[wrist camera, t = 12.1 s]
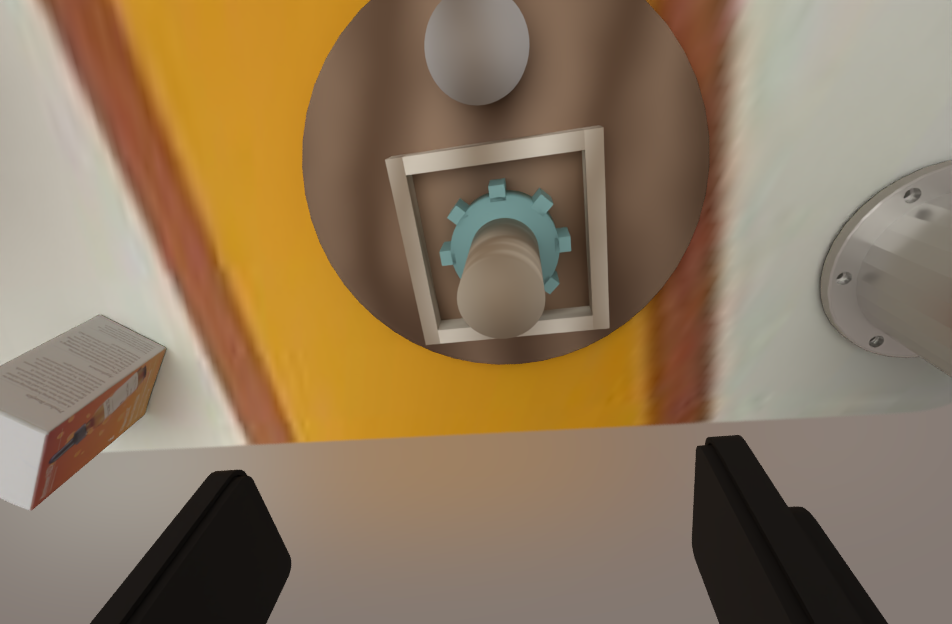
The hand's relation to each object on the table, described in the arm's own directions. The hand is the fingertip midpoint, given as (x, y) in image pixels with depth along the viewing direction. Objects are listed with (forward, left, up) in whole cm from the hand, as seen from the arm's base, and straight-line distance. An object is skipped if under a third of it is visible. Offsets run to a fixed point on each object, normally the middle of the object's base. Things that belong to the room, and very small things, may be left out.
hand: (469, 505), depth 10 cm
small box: (+32, +8, -23) cm, 40 cm away
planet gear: (0, +1, -21) cm, 21 cm away
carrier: (0, -2, -23) cm, 23 cm away
